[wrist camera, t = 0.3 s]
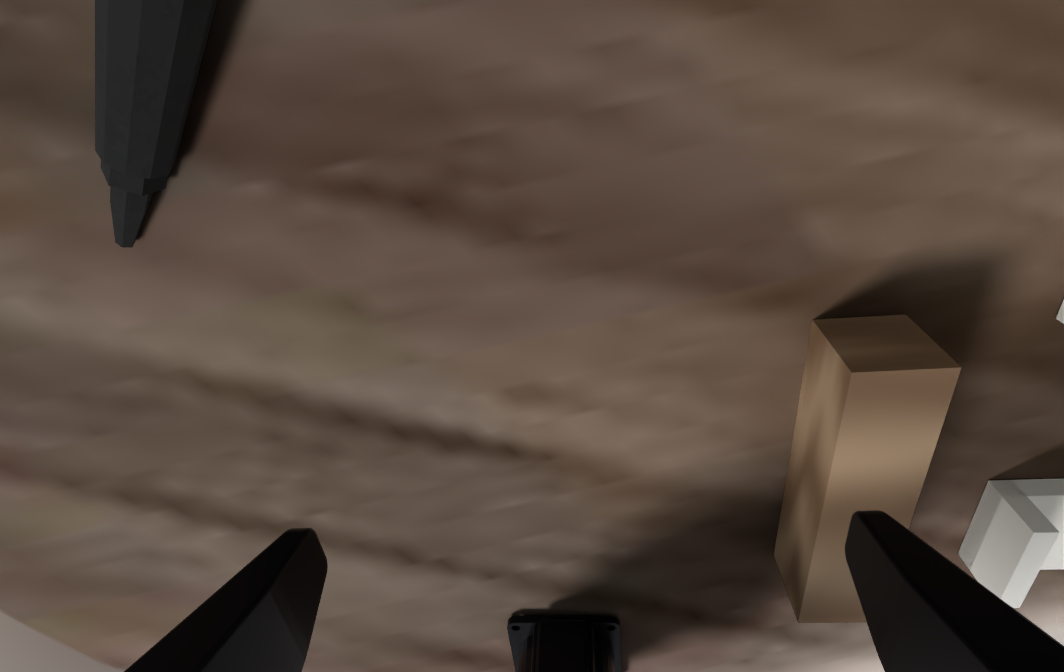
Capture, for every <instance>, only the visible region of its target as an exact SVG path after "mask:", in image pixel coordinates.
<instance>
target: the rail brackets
mask: <svg viewBox="0 0 1064 672" xmlns="http://www.w3.org/2000/svg"><path fill="white" fill-rule="evenodd" d="M1056 319H1057V320H1059V321H1060V322H1062V323H1063V324H1064V300H1063V302H1062V305H1061V307H1060V310H1059V312H1058V314H1057V317H1056ZM958 554H959V555H960V557H961V558H962V560H963V561H964V562H965V564H966V565H967V567H968V568H969V570H970V571H971V573H972V574H973V575H974V577H975V578H976V580H977V581H978V582H979V583H980V584H982V585H983V586H984V587H986V588H987V589H988V590H990V591H991V592H992V593H994V594H995V595H996V596H998V597H999V598H1000V599H1002V600H1003V601H1004V602H1006V603H1007V604H1008V605H1010V606H1011V607H1012V608H1020V606H1021V604H1022V602H1023V600H1024V599H1025V597H1026V595H1027V593H1028V591H1029V589H1030V587H1031V585H1032V584H1033V582H1034V580H1035V578H1036V576H1037V574H1038V572H1039V571H1040V570H1044V569H1064V479H1025V480H988V483H987V485H986V487H985V490H984V492H983V495H982V497H981V499H980V502H979V504H978V507H977V509H976V511H975V514H974V516H973V519H972V521H971V523H970V526H969V528H968V531H967V533H966V535H965V538H964V540H963V543H962V545H961V547H960V550H959V552H958Z"/></svg>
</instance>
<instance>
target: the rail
mask: <svg viewBox="0 0 1064 672" xmlns="http://www.w3.org/2000/svg"><path fill="white" fill-rule="evenodd" d="M961 368H962V367H961V366H960V365H959V364H958V363H956V362H955V361H954V360H953V359H952V358H951V357H950V356H949V355H948V354H947V353H946V352H945V351H944V350H943V349H942V348H941V347H940V346H939V345H938V344H936V343H935V342H934V341H933V340H932V339H931V338H930V337H929V336H928V335H927V334H926V333H925V332H924V331H923V330H922V329H921V328H920V327H919V326H918V325H917V324H915V323H914V322H913V321H912V320H911V319H910V318H909V317H908V316H907V315H906V314H903V315H886V316H869V317H851V318H834V319H817V320H812V325H811V332H810V338H809V344H808V350H807V356H806V362H805V368H804V374H803V380H802V386H801V392H800V398H799V405H798V411H797V417H796V423H795V429H794V435H793V441H792V447H791V453H790V459H789V465H788V472H787V478H786V484H785V490H784V496H783V502H782V508H781V514H780V520H779V526H778V532H777V538H776V545H775V551H774V557H775V560H776V563H777V565H778V568H779V571H780V574H781V577H782V579H783V582H784V585H785V588H786V590H787V593H788V596H789V599H790V601H791V604H792V607H793V610H794V613H795V615H796V618H797V621H798V623H837V622H867V621H866V618H865V615H864V612H863V609H862V606H861V603H860V600H859V597H858V594H857V591H856V588H855V585H854V582H853V579H852V576H851V573H850V570H849V567H848V564H847V561H846V557H845V543H846V538H847V534H848V530H849V525H850V521H851V517H852V515H853V514H854V512H856V511H867V510H880V511H883V512H885V513H887V514H888V515H890V516H891V517H892V518H894V519H895V520H896V521H898V522H899V523H900V524H902V525H903V526H904V527H906V528H907V529H909V526H910V523H911V520H912V517H913V514H914V511H915V508H916V505H917V502H918V499H919V496H920V493H921V490H922V487H923V484H924V481H925V478H926V474H927V471H928V468H929V465H930V462H931V459H932V456H933V453H934V450H935V447H936V444H937V441H938V438H939V435H940V432H941V429H942V426H943V423H944V420H945V417H946V414H947V411H948V408H949V405H950V402H951V398H952V395H953V392H954V389H955V386H956V383H957V380H958V377H959V374H960V371H961Z"/></svg>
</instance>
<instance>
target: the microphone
mask: <svg viewBox="0 0 1064 672" xmlns="http://www.w3.org/2000/svg"><path fill="white" fill-rule="evenodd" d="M216 4H217V0H95V150H96V152H97V154H98V155H99V157H100V158H101V169H102V171H103V173H104V176H105V178H106V181H107V183H108V185H109V186H111V190H110V203H111V211H112V219H113V227H114V235H115V243H117V244H118V245H120V246H121V247H132V246H133V245H134V243H135V240H136V238H137V235H138V233H139V230H140V227H141V225H142V222H143V219H144V217H145V214H146V212H147V209H148V206H149V204H150V200H151V196H152V193H153V192H156V191H159V190H162V189H165V187H166V181H167V176H168V175H169V174H170V172H171V170H172V168H173V167H174V164H175V161H176V157H177V153H178V149H179V145H180V142H181V138H182V134H183V130H184V126H185V122H186V119H187V115H188V111H189V107H190V103H191V100H192V96H193V92H194V88H195V84H196V80H197V77H198V73H199V69H200V65H201V61H202V57H203V54H204V50H205V46H206V42H207V38H208V35H209V31H210V27H211V23H212V19H213V15H214V12H215V8H216Z"/></svg>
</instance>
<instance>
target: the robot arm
mask: <svg viewBox="0 0 1064 672" xmlns="http://www.w3.org/2000/svg"><path fill="white" fill-rule="evenodd" d="M845 557H846V561H847V564H848V567H849V570H850V573H851V576H852V579H853V582H854V585H855V588H856V591H857V594H858V597H859V600H860V603H861V606H862V609H863V612H864V615H865V618H866V621H867V624H868V627H869V630H870V633H871V636H872V639H873V642H874V645H875V648H876V650H877V653H878V656H879V658H880V661H881V663H882V666H883V668H884V670H885V672H1064V646H1063V645H1062V644H1060V643H1059V642H1058V641H1056V640H1055V639H1054V638H1052V637H1051V636H1050V635H1048V634H1047V633H1046V632H1044V631H1043V630H1042V629H1040V628H1039V627H1038V626H1036V625H1035V624H1034V623H1032V622H1031V621H1030V620H1028V619H1027V618H1026V617H1024V616H1023V615H1022V614H1020V613H1019V612H1018V611H1016V610H1015V609H1014V608H1012V607H1011V606H1010V605H1008V604H1007V603H1006V602H1004V601H1003V600H1002V599H1000V598H999V597H998V596H996V595H995V594H994V593H992V592H991V591H990V590H988V589H987V588H986V587H984V586H983V585H982V584H980V583H979V582H978V581H976V580H975V579H974V578H972V577H971V576H970V575H968V574H967V573H966V572H964V571H963V570H962V569H960V568H959V567H958V566H956V565H955V564H954V563H952V562H951V561H950V560H948V559H947V558H946V557H944V556H943V555H942V554H940V553H939V552H938V551H936V550H935V549H934V548H932V547H931V546H930V545H928V544H927V543H926V542H924V541H923V540H922V539H920V538H919V537H918V536H916V535H915V534H914V533H912V532H911V531H910V530H908V529H907V528H906V527H904V526H903V525H902V524H900V523H899V522H898V521H896V520H895V519H894V518H892V517H891V516H890V515H888V514H887V513H885V512H883V511H880V510H867V511H856V512H854V514H853V515H852V517H851V521H850V525H849V530H848V534H847V538H846V543H845ZM326 574H327V559H326V556H325V553H324V551H323V549H322V546H321V544H320V542H319V539H318V537H317V534H316V532H315V531H314V530H313V529H312V528H293V529H289V530H287V531H286V532H284V533H283V534H282V535H281V536H280V537H279V538H277V539H276V540H275V541H274V542H273V543H272V544H271V545H269V546H268V547H267V548H266V549H265V550H264V551H262V552H261V553H260V554H259V555H258V556H257V557H256V558H254V559H253V560H252V561H251V562H250V563H249V564H247V565H246V566H245V567H244V568H243V569H242V570H241V571H239V572H238V573H237V574H236V575H235V576H234V577H233V578H231V579H230V580H229V581H228V582H227V583H226V584H224V585H223V586H222V587H221V588H220V589H219V590H218V591H216V592H215V593H214V594H213V595H212V596H211V597H209V598H208V599H207V600H206V601H205V602H204V603H203V604H201V605H200V606H199V607H198V608H197V609H196V610H195V611H193V612H192V613H191V614H190V615H189V616H188V617H186V618H185V619H184V620H183V621H182V622H181V623H180V624H178V625H177V626H176V627H175V628H174V629H173V630H171V631H170V632H169V633H168V634H167V635H166V636H165V637H163V638H162V639H161V640H160V641H159V642H158V643H157V644H155V645H154V646H153V647H152V648H151V649H150V650H148V651H147V652H146V653H145V654H144V655H143V656H142V657H140V658H139V659H138V660H137V661H136V662H135V663H133V664H132V665H131V666H130V667H129V668H128V669H127V670H125V671H124V672H301V671H302V668H303V665H304V662H305V659H306V655H307V651H308V648H309V644H310V640H311V636H312V632H313V627H314V623H315V619H316V615H317V611H318V607H319V603H320V599H321V595H322V591H323V586H324V582H325V578H326ZM507 629H508V634H509V640H510V645H511V650H512V655H513V660H514V665H515V671H516V672H621V639H620V621H619V619H618V618H617V617H614V616H515V617H511V618H509V619H508V626H507Z"/></svg>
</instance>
